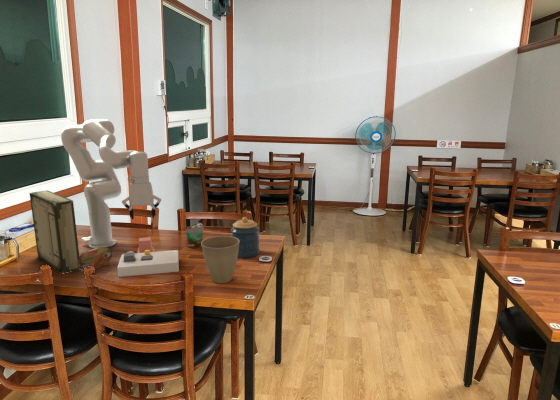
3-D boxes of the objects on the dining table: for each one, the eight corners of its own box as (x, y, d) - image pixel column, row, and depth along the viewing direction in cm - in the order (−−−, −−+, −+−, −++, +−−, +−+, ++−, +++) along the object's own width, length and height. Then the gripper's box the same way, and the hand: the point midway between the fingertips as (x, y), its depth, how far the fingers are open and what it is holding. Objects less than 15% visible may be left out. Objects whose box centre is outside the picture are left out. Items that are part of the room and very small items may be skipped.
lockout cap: (137, 258, 198) (136, 242, 196) (138, 253, 204) (137, 237, 203) (153, 257, 200) (152, 240, 198) (153, 252, 206) (152, 236, 204)
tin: (82, 274, 181) (80, 254, 179) (77, 272, 183) (75, 253, 181) (113, 263, 193) (111, 244, 192) (108, 261, 195) (106, 243, 193)
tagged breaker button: (142, 269, 186) (141, 259, 185) (142, 265, 190) (142, 255, 188) (152, 268, 187) (151, 258, 186) (152, 264, 190) (151, 255, 189)
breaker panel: (118, 276, 178) (116, 263, 177) (122, 262, 193) (121, 250, 192) (178, 271, 183) (178, 258, 182) (178, 258, 199) (177, 246, 197)
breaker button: (124, 266, 184) (123, 256, 183) (125, 263, 188) (124, 253, 187) (134, 265, 185) (133, 255, 184) (135, 262, 188) (134, 252, 187)
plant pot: (212, 270, 184) (211, 234, 180) (245, 274, 180) (245, 237, 176) (196, 285, 170) (194, 245, 166) (231, 289, 166) (230, 249, 162)
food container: (199, 249, 210) (198, 229, 208) (186, 248, 212) (185, 228, 209) (208, 241, 222) (207, 222, 220) (196, 240, 223) (195, 221, 221)
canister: (225, 253, 204) (224, 217, 200) (246, 247, 213) (245, 211, 209) (244, 260, 195) (244, 222, 192) (265, 253, 205) (264, 216, 201)
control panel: (80, 269, 186) (73, 200, 179) (62, 274, 181) (53, 203, 174) (55, 252, 206) (47, 190, 200) (38, 256, 201) (29, 192, 195)
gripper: (118, 182, 189) (121, 221, 192) (160, 180, 192) (162, 218, 196) (120, 179, 196) (123, 217, 200) (160, 177, 200) (163, 214, 203)
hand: (143, 217), depth 198 cm, fingers open, 8 cm apart
